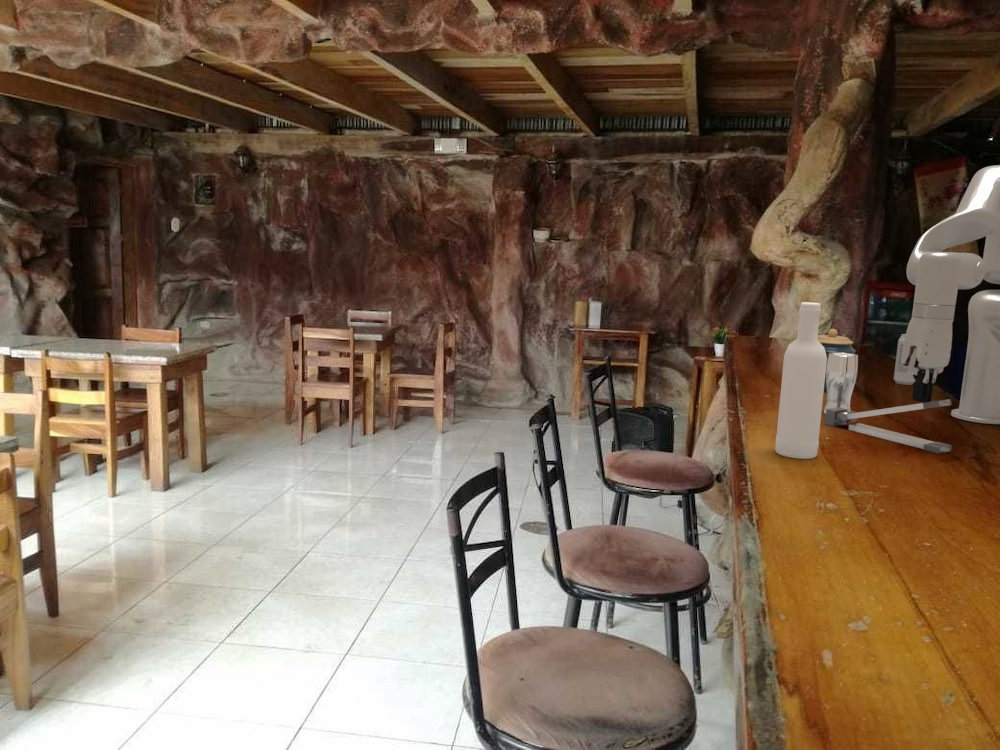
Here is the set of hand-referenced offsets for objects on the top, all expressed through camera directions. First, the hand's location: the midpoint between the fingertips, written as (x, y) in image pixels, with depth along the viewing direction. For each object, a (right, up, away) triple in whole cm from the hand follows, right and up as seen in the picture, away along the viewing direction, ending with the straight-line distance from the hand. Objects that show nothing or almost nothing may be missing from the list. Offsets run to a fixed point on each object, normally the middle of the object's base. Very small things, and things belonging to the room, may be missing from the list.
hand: (921, 401), depth 160 cm
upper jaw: (-3, -3, +7) cm, 8 cm away
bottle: (-29, -10, -7) cm, 32 cm away
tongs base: (-4, -8, +8) cm, 12 cm away
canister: (+8, +1, +64) cm, 64 cm away
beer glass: (-4, -4, +30) cm, 31 cm away
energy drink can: (+37, +3, +77) cm, 85 cm away
